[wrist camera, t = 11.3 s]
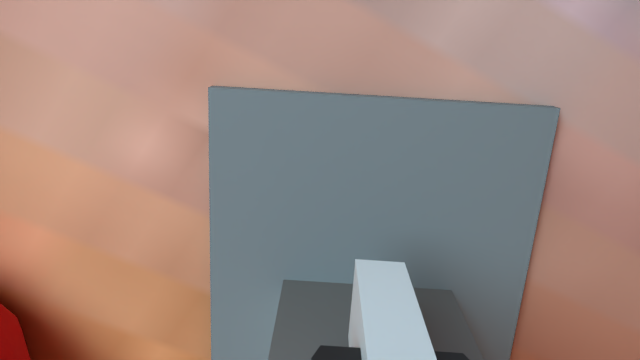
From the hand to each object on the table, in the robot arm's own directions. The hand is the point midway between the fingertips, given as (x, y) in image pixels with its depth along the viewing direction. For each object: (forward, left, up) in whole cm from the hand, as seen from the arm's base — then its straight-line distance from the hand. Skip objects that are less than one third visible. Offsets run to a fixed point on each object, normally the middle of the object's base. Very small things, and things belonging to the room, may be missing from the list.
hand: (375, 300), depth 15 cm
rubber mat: (0, +8, -5) cm, 10 cm away
